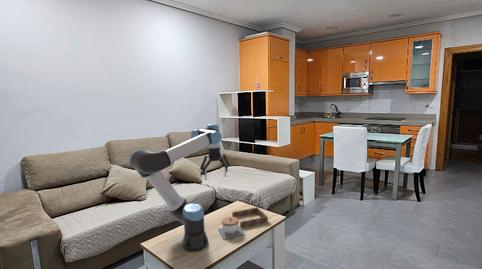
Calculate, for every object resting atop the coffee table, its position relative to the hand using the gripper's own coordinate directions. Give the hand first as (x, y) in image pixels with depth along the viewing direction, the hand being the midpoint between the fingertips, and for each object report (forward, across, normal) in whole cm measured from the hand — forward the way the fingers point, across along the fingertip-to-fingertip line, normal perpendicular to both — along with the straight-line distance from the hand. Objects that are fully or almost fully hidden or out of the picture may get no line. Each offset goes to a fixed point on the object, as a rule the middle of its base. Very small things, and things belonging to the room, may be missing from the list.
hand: (215, 178), depth 183 cm
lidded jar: (+31, +4, -17) cm, 36 cm away
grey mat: (+32, +4, -17) cm, 36 cm away
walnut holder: (+32, +22, -6) cm, 39 cm away
